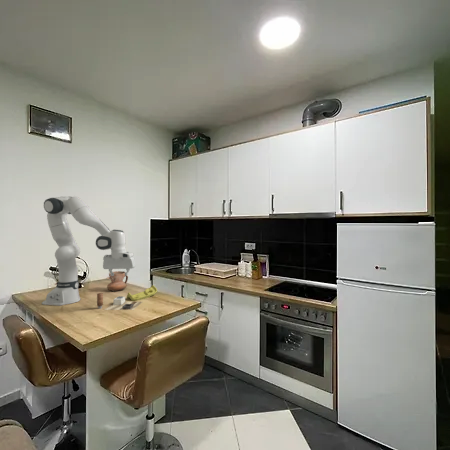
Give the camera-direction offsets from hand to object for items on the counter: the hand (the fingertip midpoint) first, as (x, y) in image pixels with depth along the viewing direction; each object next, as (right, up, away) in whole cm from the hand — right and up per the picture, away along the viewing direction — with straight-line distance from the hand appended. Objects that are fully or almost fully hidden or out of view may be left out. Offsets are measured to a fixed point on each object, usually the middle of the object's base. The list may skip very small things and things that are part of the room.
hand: (119, 275), depth 161 cm
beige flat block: (+5, -19, -4) cm, 20 cm away
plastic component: (+10, -20, +15) cm, 27 cm away
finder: (0, -18, 0) cm, 18 cm away
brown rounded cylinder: (-8, -19, -9) cm, 23 cm away
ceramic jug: (-18, -20, +39) cm, 47 cm away
